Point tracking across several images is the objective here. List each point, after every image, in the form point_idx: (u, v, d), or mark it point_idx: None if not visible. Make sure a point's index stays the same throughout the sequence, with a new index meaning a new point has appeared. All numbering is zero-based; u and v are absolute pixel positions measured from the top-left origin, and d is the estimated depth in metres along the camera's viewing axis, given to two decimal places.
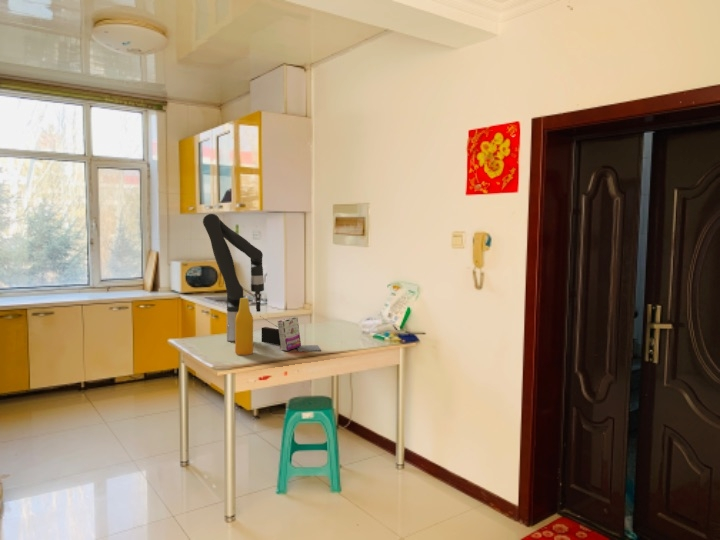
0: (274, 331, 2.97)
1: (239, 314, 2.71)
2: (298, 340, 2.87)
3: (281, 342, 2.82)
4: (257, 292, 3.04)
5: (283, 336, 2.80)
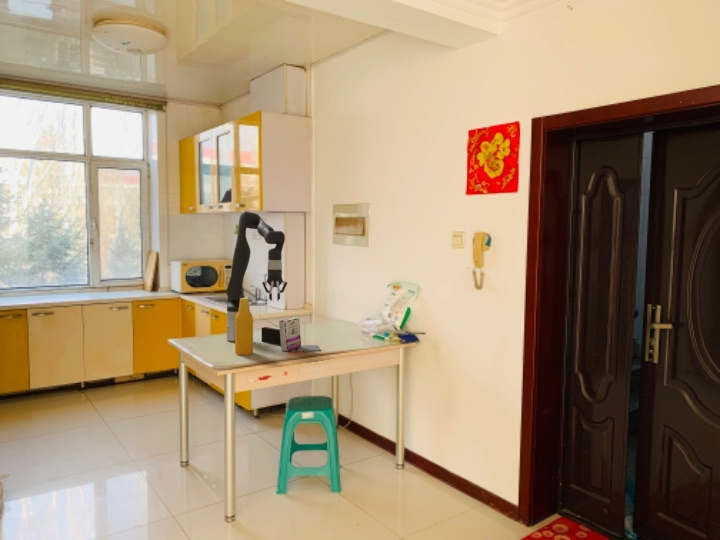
0: (274, 331, 2.97)
1: (239, 314, 2.71)
2: (298, 341, 2.87)
3: (281, 342, 2.82)
4: (281, 277, 2.81)
5: (284, 337, 2.80)
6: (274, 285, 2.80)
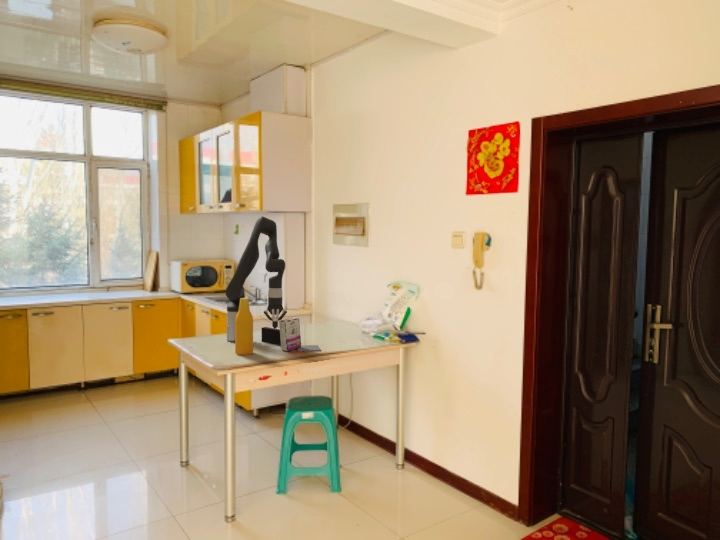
0: (274, 331, 2.97)
1: (239, 314, 2.71)
2: (298, 341, 2.87)
3: (281, 342, 2.82)
4: None
5: (284, 337, 2.80)
6: (275, 312, 2.81)
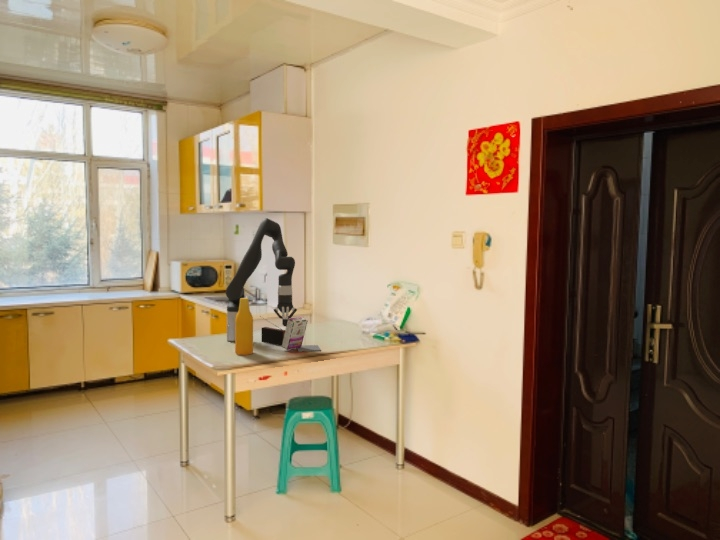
0: (274, 331, 2.97)
1: (239, 314, 2.71)
2: (300, 341, 2.87)
3: (284, 339, 2.81)
4: None
5: (288, 336, 2.79)
6: (285, 310, 2.80)
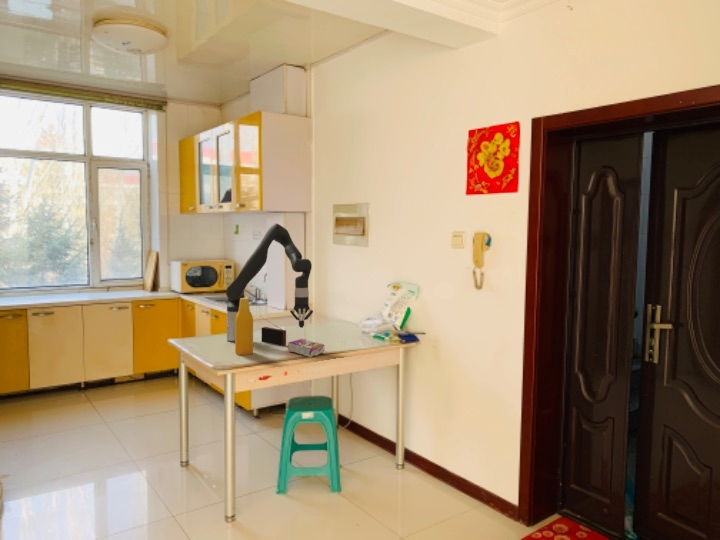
0: (274, 331, 2.97)
1: (239, 314, 2.71)
2: None
3: (294, 345, 2.76)
4: (308, 305, 2.86)
5: (298, 351, 2.75)
6: (302, 312, 2.84)
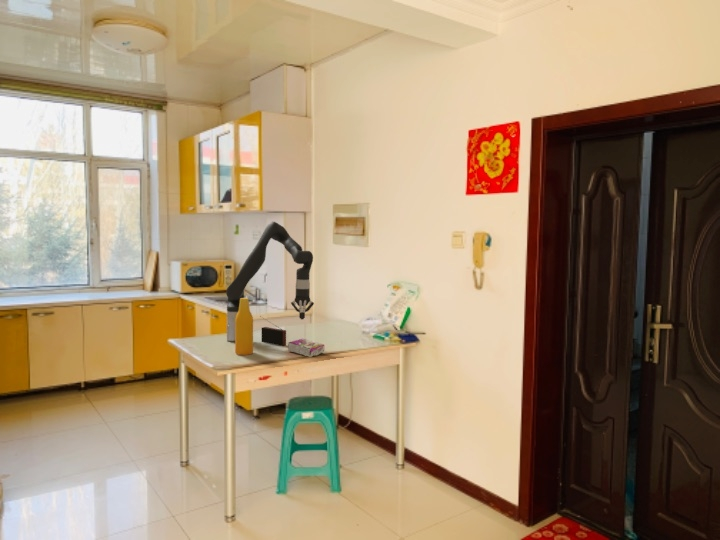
0: (274, 331, 2.97)
1: (239, 314, 2.71)
2: None
3: (294, 345, 2.76)
4: (309, 297, 2.85)
5: (298, 351, 2.75)
6: (303, 303, 2.84)
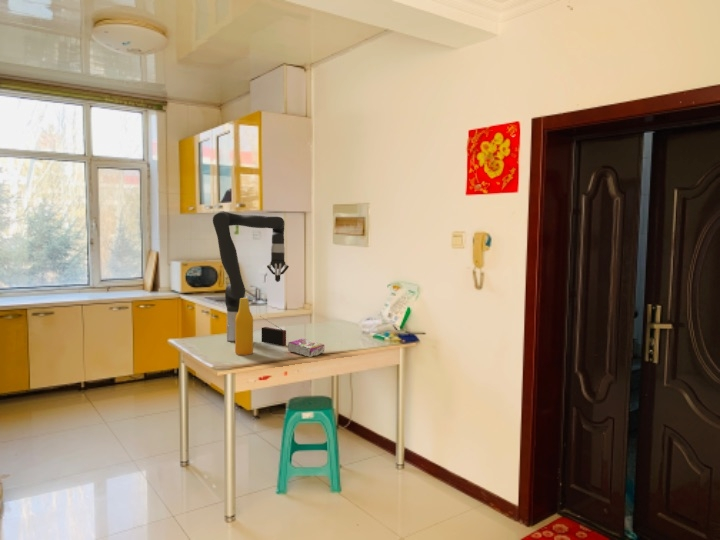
0: (274, 331, 2.97)
1: (239, 314, 2.71)
2: None
3: (294, 345, 2.76)
4: None
5: (298, 351, 2.75)
6: (278, 266, 3.00)
